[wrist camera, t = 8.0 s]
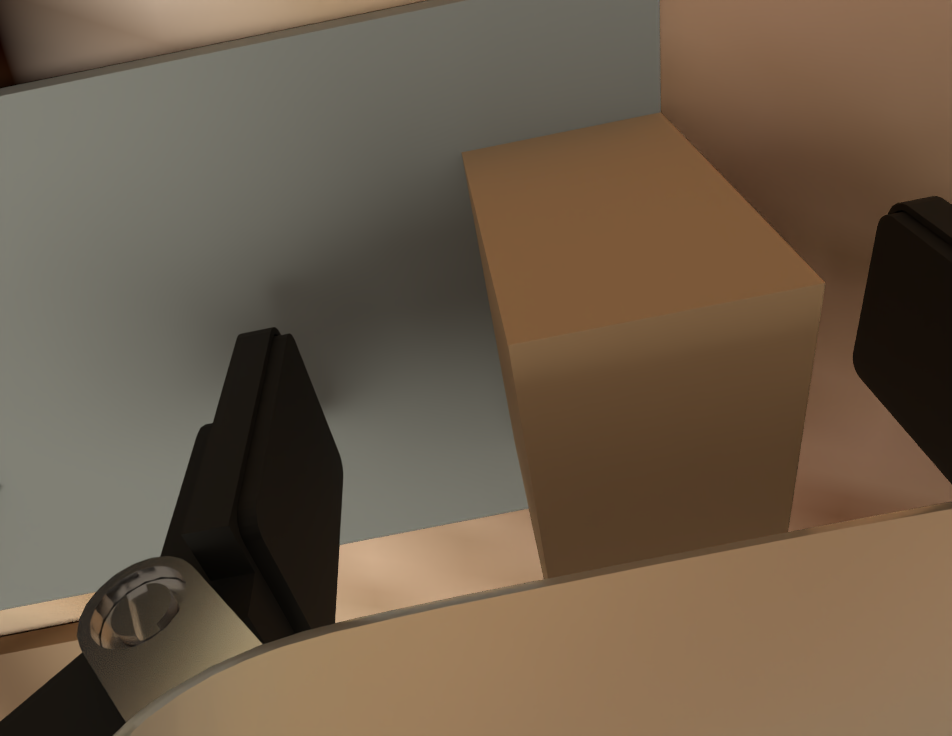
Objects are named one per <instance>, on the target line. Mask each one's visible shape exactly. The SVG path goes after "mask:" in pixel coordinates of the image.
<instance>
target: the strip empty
mask: <svg viewBox="0 0 952 736" xmlns="http://www.w3.org/2000/svg"><path fill="white" fill-rule="evenodd" d="M78 623H79V622H77V623H72V624H67V625H62V626H56V627H51V628H46V629H41V630H36V631H30V632H25V633H20V634H15V635H9V636H4V637H0V721H1V720H2V719H4V718H5V717H6V716H7V715H8V714H10V713H11V712H12V711H13V710H14V709H16V708H17V707H18V706H19V705H20V704H22V703H23V702H24V701H25V700H26V699H27V698H29V697H30V696H31V695H32V694H33V693H35V692H36V691H37V690H38V689H39V688H41V687H42V686H43V685H44V684H45V683H46V682H48V681H49V680H50V679H51V678H52V677H54V676H55V675H56V674H57V673H58V672H60V671H61V670H62V669H63V668H64V667H65V666H67V665H68V664H69V663H70V662H71V661H73V660H74V659H75V658H76V657H77V656H79V655H80V654H81V653H82V651H81V649H80V646H79V642H78V639H77V630H78Z"/></svg>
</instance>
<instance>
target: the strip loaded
mask: <svg viewBox="0 0 952 736" xmlns="http://www.w3.org/2000/svg"><path fill="white" fill-rule="evenodd" d="M824 290H825V282H824V281H823V280H822V279H821V278H820V277H819V276H818V275H817V273H816V272H815V271H814V270H813V269H812V268H811V267H810V266H809V265H808V264H807V263H806V262H805V261H804V260H803V259H802V258H801V257H800V256H799V255H798V254H797V253H796V252H795V251H794V250H793V249H792V248H791V247H790V246H789V245H788V243H787V242H786V241H785V240H784V239H783V238H782V237H781V236H780V235H779V234H778V233H777V232H776V231H775V230H774V229H773V228H772V227H771V226H770V225H769V224H768V223H767V222H766V221H765V220H764V219H763V218H762V217H761V216H760V215H759V213H758V212H757V211H756V210H755V209H754V208H753V207H752V206H751V205H750V204H749V203H748V202H747V201H746V200H745V199H744V198H743V197H742V196H741V195H740V194H739V193H738V192H737V191H736V190H735V189H734V188H733V187H732V186H731V184H730V183H729V182H728V181H727V180H726V179H725V178H724V177H723V176H722V175H721V174H720V173H719V172H718V171H717V170H716V169H715V168H714V167H713V166H712V165H711V164H710V163H709V162H708V161H707V160H706V159H705V158H704V157H703V156H702V154H701V153H700V152H699V151H698V150H697V149H696V148H695V147H694V146H693V145H692V144H691V143H690V142H689V141H688V140H687V139H686V138H685V137H684V136H683V135H682V134H681V133H680V132H679V131H678V130H677V129H676V128H675V127H674V126H673V124H672V123H671V122H670V121H669V120H668V119H667V118H666V117H665V116H664V115H663V114H662V113H661V88H660V0H428V1H423V2H418V3H414V4H409V5H404V6H399V7H394V8H389V9H384V10H379V11H375V12H370V13H365V14H360V15H355V16H350V17H345V18H341V19H336V20H331V21H326V22H321V23H316V24H311V25H307V26H302V27H297V28H292V29H287V30H282V31H277V32H272V33H268V34H263V35H258V36H253V37H248V38H243V39H238V40H234V41H229V42H224V43H219V44H214V45H209V46H204V47H200V48H195V49H190V50H185V51H180V52H175V53H170V54H165V55H161V56H156V57H151V58H146V59H141V60H136V61H131V62H127V63H122V64H117V65H112V66H107V67H102V68H97V69H93V70H88V71H83V72H78V73H73V74H68V75H63V76H59V77H54V78H49V79H44V80H39V81H34V82H29V83H24V84H20V85H15V86H10V87H5V88H0V610H5V609H10V608H15V607H20V606H26V605H31V604H36V603H41V602H46V601H52V600H57V599H62V598H67V597H72V596H77V595H83V594H88V593H93V592H97V590H98V589H99V588H100V587H101V586H102V585H103V584H105V583H106V582H107V581H108V580H109V579H110V578H112V577H113V576H114V575H115V574H117V573H119V572H120V571H122V570H124V569H125V568H127V567H129V566H130V565H132V564H135V563H137V562H140V561H143V560H146V559H149V558H154V557H160V555H161V552H162V549H163V545H164V542H165V539H166V536H167V532H168V529H169V526H170V522H171V519H172V516H173V512H174V509H175V506H176V502H177V499H178V496H179V493H180V489H181V486H182V483H183V479H184V476H185V473H186V469H187V466H188V463H189V460H190V456H191V453H192V450H193V446H194V443H195V440H196V436H197V434H198V432H199V430H200V428H201V427H202V426H204V425H205V424H210V423H213V420H214V417H215V413H216V410H217V406H218V402H219V399H220V395H221V392H222V388H223V385H224V381H225V378H226V374H227V371H228V367H229V364H230V360H231V356H232V353H233V349H234V346H235V342H236V339H237V337H238V335H239V334H241V333H246V332H251V331H256V330H261V329H266V328H271V327H275V328H277V329H278V330H279V332H280V333H281V335H284V334H289V333H290V334H291V335H292V336H293V337H294V339H295V342H296V344H297V347H298V349H299V352H300V354H301V357H302V359H303V362H304V365H305V367H306V370H307V372H308V375H309V377H310V380H311V382H312V385H313V387H314V390H315V393H316V395H317V398H318V400H319V403H320V405H321V408H322V410H323V413H324V415H325V418H326V421H327V423H328V426H329V428H330V431H331V433H332V436H333V438H334V441H335V443H336V446H337V449H338V451H339V454H340V457H341V461H342V466H343V493H342V510H341V527H340V544H339V545H342V544H347V543H352V542H358V541H363V540H368V539H373V538H378V537H384V536H389V535H394V534H399V533H404V532H409V531H415V530H420V529H425V528H430V527H435V526H441V525H446V524H451V523H456V522H461V521H467V520H472V519H477V518H482V517H487V516H492V515H498V514H503V513H508V512H513V511H518V510H524V509H529V512H530V516H531V521H532V526H533V530H534V535H535V540H536V544H537V549H538V554H539V558H540V563H541V568H542V572H543V577H544V579H548V578H554V577H559V576H564V575H569V574H574V573H579V572H584V571H589V570H594V569H599V568H604V567H610V566H615V565H620V564H625V563H630V562H635V561H640V560H645V559H650V558H656V557H661V556H666V555H671V554H676V553H682V552H687V551H692V550H697V549H703V548H708V547H713V546H718V545H723V544H729V543H734V542H739V541H744V540H749V539H755V538H760V537H765V536H771V535H776V534H781V533H786V532H788V528H789V522H790V515H791V508H792V502H793V495H794V488H795V482H796V475H797V469H798V462H799V455H800V449H801V442H802V435H803V429H804V422H805V416H806V409H807V402H808V396H809V389H810V382H811V376H812V369H813V363H814V356H815V349H816V343H817V336H818V329H819V323H820V316H821V310H822V303H823V296H824Z"/></svg>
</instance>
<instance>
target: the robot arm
mask: <svg viewBox="0 0 952 736" xmlns="http://www.w3.org/2000/svg"><path fill="white" fill-rule="evenodd" d="M853 364H854V367H855V370H856V372H857V374H858V376H859V377H860V378H861V380H862V381H863V382H864V383H865V384H866V385H867V387H868V388H869V389H870V390H871V391H872V392H873V393H874V395H875V396H876V397H877V398H878V399H879V400H880V402H881V403H882V404H883V405H884V406H885V407H886V409H887V410H888V411H889V412H890V413H891V414H892V415H893V417H894V418H895V419H896V420H897V421H898V422H899V424H900V425H901V426H902V427H903V428H904V429H905V431H906V432H907V433H908V434H909V435H910V436H911V438H912V439H913V440H914V441H915V442H916V443H917V444H918V446H919V447H920V448H921V449H922V450H923V451H924V453H925V454H926V455H927V456H928V457H929V458H930V460H931V461H932V462H933V463H934V464H935V465H936V466H937V468H938V469H939V470H940V471H941V472H942V473H943V475H944V476H945V477H946V478H947V479H948V480H949V482H950V483H951V484H952V204H950V203H949V202H947V201H946V200H944V199H943V198H940V197H938V196H932V197H927V198H922V199H917V200H911V201H906V202H901V203H897V204H895V205H894V206H892V208H891V209H890V211H889V212H888V215H885V216H883V217H882V218H881V219H880V221H879V223H878V226H877V231H876V237H875V242H874V247H873V252H872V257H871V263H870V268H869V273H868V278H867V284H866V289H865V294H864V299H863V305H862V310H861V315H860V320H859V325H858V331H857V336H856V341H855V346H854V352H853ZM342 493H343V466H342V461H341V457H340V454H339V451H338V449H337V446H336V443H335V441H334V438H333V436H332V433H331V431H330V428H329V426H328V423H327V421H326V418H325V415H324V413H323V410H322V408H321V405H320V403H319V400H318V398H317V395H316V393H315V390H314V387H313V385H312V382H311V380H310V377H309V375H308V372H307V370H306V367H305V365H304V362H303V359H302V357H301V354H300V352H299V349H298V347H297V344H296V342H295V339H294V337H293V336H292V335H291V334H290V333H289V334H284V335H281V333H280V332H279V330H278V329H277V328H275V327H271V328H266V329H261V330H256V331H251V332H246V333H241V334H239V335H238V337H237V339H236V342H235V346H234V349H233V353H232V356H231V360H230V364H229V367H228V371H227V374H226V378H225V381H224V385H223V388H222V392H221V395H220V399H219V402H218V406H217V410H216V413H215V417H214V420H213V423H210V424H205V425H204V426H202V427H201V428H200V430H199V432H198V434H197V436H196V440H195V443H194V446H193V450H192V453H191V456H190V460H189V463H188V466H187V469H186V473H185V476H184V479H183V483H182V486H181V489H180V493H179V496H178V499H177V502H176V506H175V509H174V512H173V516H172V519H171V522H170V526H169V529H168V532H167V536H166V539H165V542H164V545H163V549H162V552H161V555H160V557H154V558H149V559H146V560H143V561H140V562H137V563H135V564H132V565H130V566H129V567H127V568H125V569H124V570H122V571H120V572H119V573H117V574H115V575H114V576H113V577H112V578H110V579H109V580H108V581H107V582H106V583H105V584H103V585H102V586H101V587H100V588H99V589H98V590H97V592H96V593H95V594H94V595H93V597H92V598H91V599H90V600H89V602H88V603H87V604H86V606H85V608H84V611H83V613H82V615H81V617H80V619H79V623H78V630H77V639H78V642H79V646H80V649H81V651H82V653H81V654H80V655H79V656H77V657H76V658H75V659H74V660H73V661H71V662H70V663H69V664H68V665H67V666H65V667H64V668H63V669H62V670H61V671H60V672H58V673H57V674H56V675H55V676H54V677H52V678H51V679H50V680H49V681H48V682H46V683H45V684H44V685H43V686H42V687H41V688H39V689H38V690H37V691H36V692H35V693H33V694H32V695H31V696H30V697H29V698H27V699H26V700H25V701H24V702H23V703H22V704H20V705H19V706H18V707H17V708H16V709H14V710H13V711H12V712H11V713H10V714H8V715H7V716H6V717H5V718H4V719H2V720H1V721H0V736H952V502H946V503H941V504H936V505H930V506H925V507H919V508H914V509H909V510H903V511H898V512H892V513H887V514H882V515H876V516H871V517H865V518H860V519H855V520H849V521H844V522H839V523H834V524H828V525H823V526H818V527H813V528H807V529H802V530H797V531H792V532H786V533H781V534H776V535H771V536H765V537H760V538H755V539H749V540H744V541H739V542H734V543H729V544H723V545H718V546H713V547H708V548H703V549H697V550H692V551H687V552H682V553H676V554H671V555H666V556H661V557H656V558H650V559H645V560H640V561H635V562H630V563H625V564H620V565H615V566H610V567H604V568H599V569H594V570H589V571H584V572H579V573H574V574H569V575H564V576H559V577H554V578H548V579H543V580H538V581H533V582H528V583H523V584H518V585H513V586H508V587H503V588H498V589H492V590H487V591H482V592H477V593H472V594H467V595H462V596H458V597H453V598H448V599H444V600H439V601H434V602H429V603H425V604H420V605H415V606H411V607H406V608H401V609H396V610H392V611H387V612H382V613H378V614H373V615H368V616H364V617H359V618H355V619H351V620H347V621H343V622H339V623H335V612H336V595H337V578H338V561H339V544H340V527H341V510H342Z"/></svg>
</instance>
